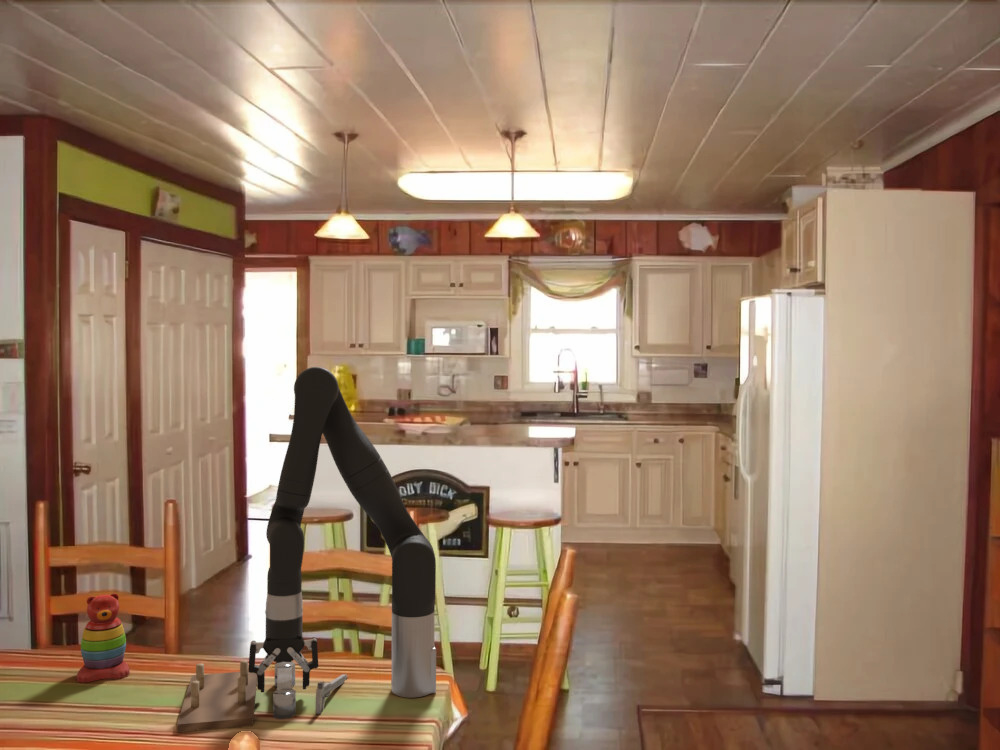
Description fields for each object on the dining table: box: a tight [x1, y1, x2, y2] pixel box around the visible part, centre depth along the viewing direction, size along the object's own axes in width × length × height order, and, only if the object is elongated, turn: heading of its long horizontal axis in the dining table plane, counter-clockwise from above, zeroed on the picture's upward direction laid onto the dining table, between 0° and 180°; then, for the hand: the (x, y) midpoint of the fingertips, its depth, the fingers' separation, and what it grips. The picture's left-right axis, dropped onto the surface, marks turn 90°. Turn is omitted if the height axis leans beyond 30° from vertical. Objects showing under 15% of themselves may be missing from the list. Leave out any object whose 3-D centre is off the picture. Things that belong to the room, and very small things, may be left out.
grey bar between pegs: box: [272, 661, 297, 720], centre depth 184 cm, size 4×20×4 cm, turn 14°
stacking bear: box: [76, 593, 131, 684], centre depth 198 cm, size 11×10×18 cm
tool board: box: [176, 659, 257, 733], centre depth 182 cm, size 14×26×6 cm, turn 14°
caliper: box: [315, 673, 349, 715], centre depth 187 cm, size 20×1×6 cm, turn 174°
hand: (283, 689), depth 184 cm, fingers open, 8 cm apart
